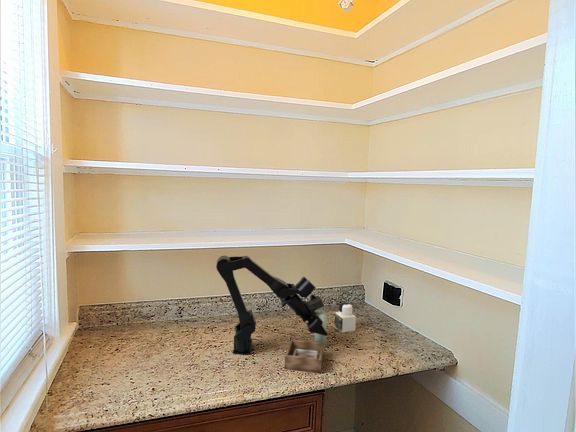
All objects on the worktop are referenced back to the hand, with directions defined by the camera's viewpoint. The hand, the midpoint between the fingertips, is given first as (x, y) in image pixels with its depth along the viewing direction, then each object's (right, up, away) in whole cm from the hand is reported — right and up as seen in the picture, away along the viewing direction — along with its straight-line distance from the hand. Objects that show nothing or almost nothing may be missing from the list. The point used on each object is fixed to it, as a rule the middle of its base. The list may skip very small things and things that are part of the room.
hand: (323, 330), depth 145 cm
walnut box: (-8, -8, -13) cm, 17 cm away
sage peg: (-1, -7, 0) cm, 7 cm away
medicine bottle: (+12, -5, +17) cm, 22 cm away
